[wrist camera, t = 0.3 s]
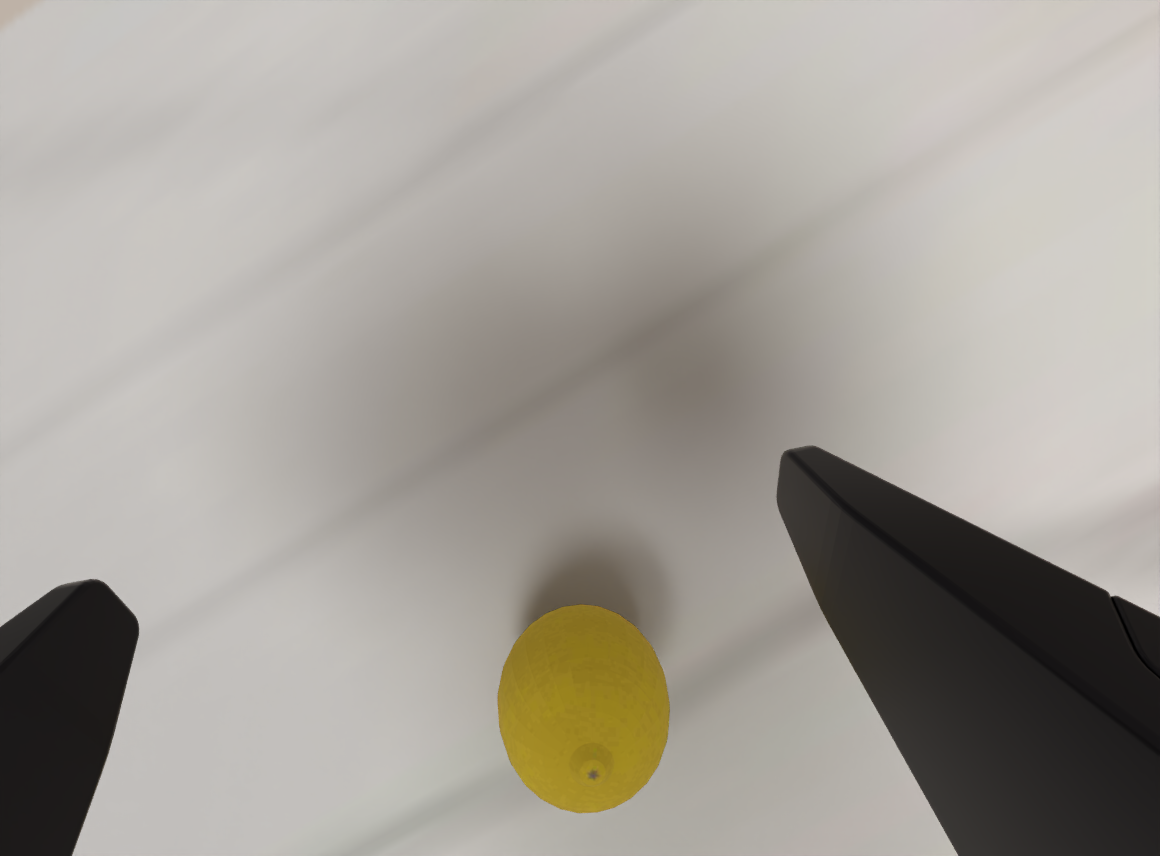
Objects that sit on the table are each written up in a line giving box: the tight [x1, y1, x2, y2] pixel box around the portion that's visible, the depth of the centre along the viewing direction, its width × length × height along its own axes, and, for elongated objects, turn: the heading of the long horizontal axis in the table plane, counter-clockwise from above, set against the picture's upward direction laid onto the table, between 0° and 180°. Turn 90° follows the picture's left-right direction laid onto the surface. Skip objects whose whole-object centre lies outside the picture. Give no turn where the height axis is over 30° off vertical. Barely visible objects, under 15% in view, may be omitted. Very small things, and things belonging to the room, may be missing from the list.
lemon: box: [498, 604, 670, 813], centre depth 19 cm, size 6×6×8 cm
